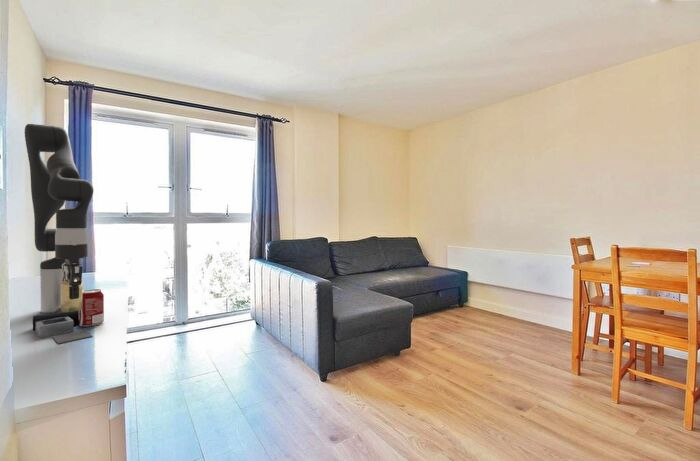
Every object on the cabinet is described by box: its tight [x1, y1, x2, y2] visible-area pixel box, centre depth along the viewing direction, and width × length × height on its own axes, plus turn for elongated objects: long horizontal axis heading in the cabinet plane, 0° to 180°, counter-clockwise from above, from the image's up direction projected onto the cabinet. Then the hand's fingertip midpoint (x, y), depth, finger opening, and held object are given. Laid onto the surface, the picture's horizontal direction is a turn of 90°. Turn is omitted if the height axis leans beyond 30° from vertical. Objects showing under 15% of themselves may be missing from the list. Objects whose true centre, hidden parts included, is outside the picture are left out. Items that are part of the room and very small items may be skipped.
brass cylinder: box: [61, 279, 84, 312], centre depth 97 cm, size 5×5×9 cm
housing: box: [35, 316, 75, 339], centre depth 102 cm, size 8×8×4 cm
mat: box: [52, 329, 93, 345], centre depth 98 cm, size 8×8×1 cm
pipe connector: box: [32, 308, 79, 332], centre depth 112 cm, size 12×5×15 cm
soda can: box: [78, 288, 105, 328], centre depth 110 cm, size 7×7×12 cm
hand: (72, 297), depth 97 cm, fingers closed on brass cylinder, 5 cm apart
